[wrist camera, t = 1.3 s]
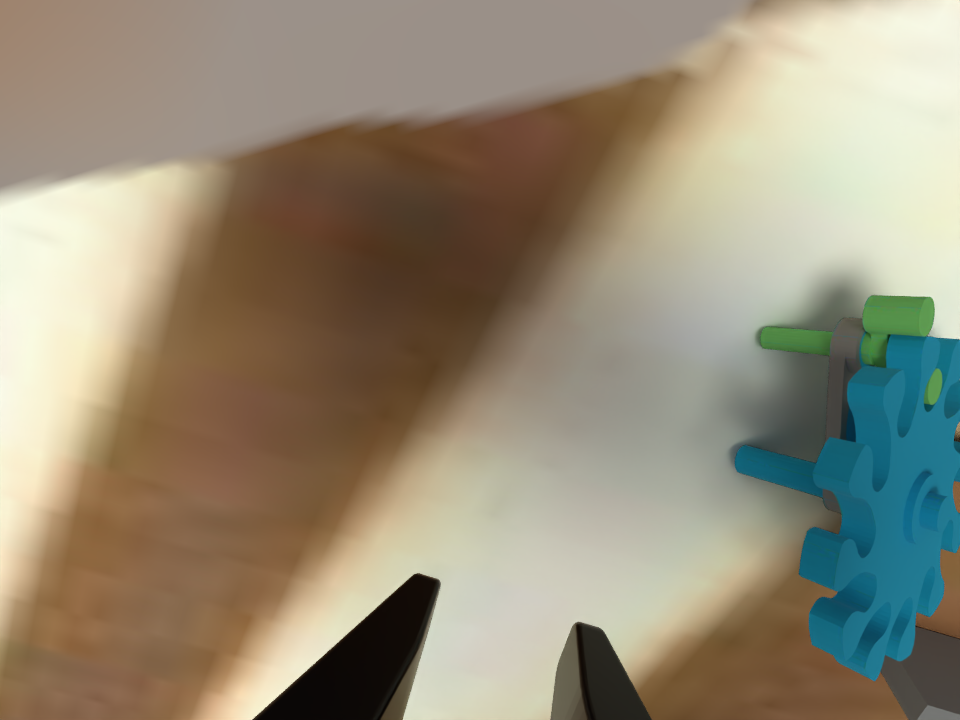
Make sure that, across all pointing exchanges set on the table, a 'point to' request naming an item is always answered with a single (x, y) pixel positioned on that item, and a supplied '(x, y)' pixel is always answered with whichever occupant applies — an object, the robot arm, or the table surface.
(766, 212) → the table surface
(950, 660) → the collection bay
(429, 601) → the robot arm
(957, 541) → the gear
